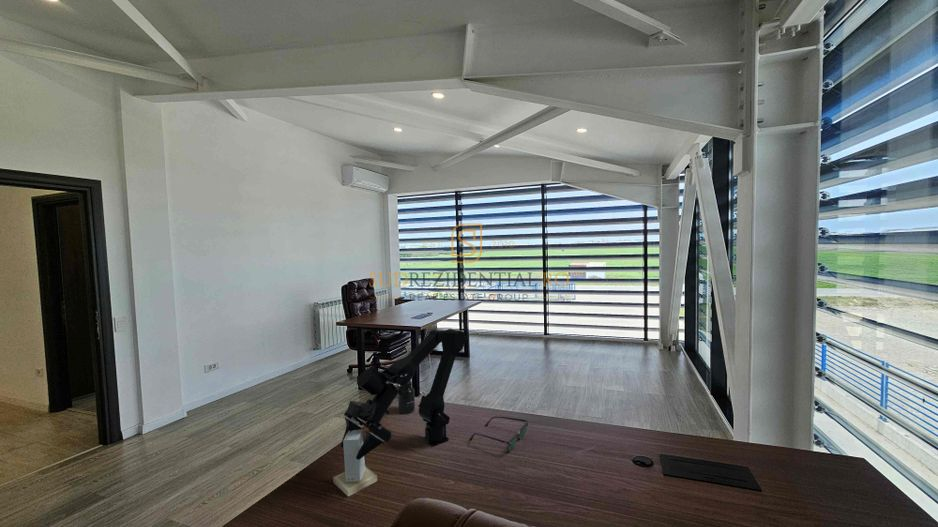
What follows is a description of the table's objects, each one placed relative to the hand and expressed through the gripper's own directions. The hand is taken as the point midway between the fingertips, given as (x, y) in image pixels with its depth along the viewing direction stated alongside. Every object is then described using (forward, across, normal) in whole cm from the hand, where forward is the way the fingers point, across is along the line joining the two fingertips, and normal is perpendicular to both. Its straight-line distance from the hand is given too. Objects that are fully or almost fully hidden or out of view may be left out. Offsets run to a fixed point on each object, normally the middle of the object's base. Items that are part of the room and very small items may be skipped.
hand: (349, 452), depth 102 cm
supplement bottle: (-21, -27, +34) cm, 48 cm away
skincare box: (+4, 0, +6) cm, 8 cm away
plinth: (+5, 0, +7) cm, 9 cm away
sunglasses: (-26, +16, +40) cm, 50 cm away
